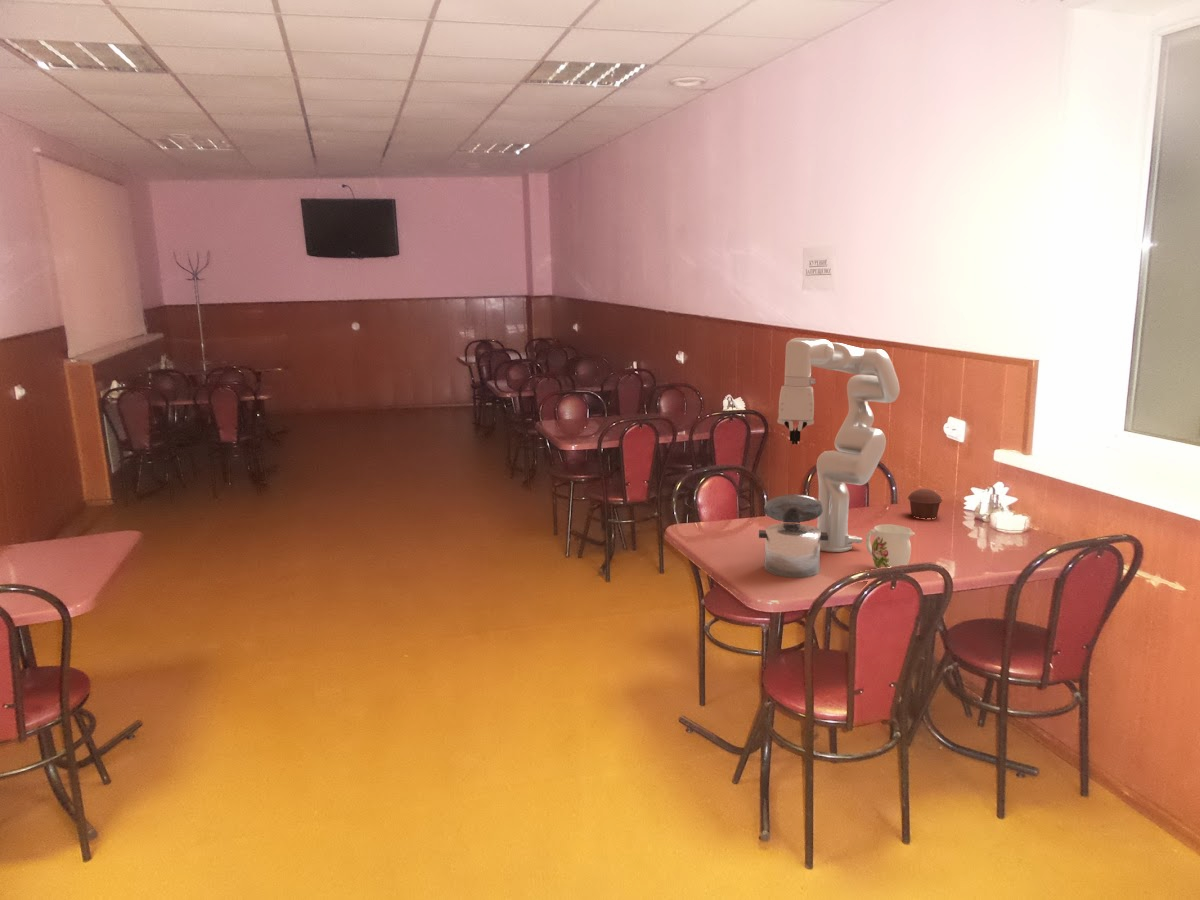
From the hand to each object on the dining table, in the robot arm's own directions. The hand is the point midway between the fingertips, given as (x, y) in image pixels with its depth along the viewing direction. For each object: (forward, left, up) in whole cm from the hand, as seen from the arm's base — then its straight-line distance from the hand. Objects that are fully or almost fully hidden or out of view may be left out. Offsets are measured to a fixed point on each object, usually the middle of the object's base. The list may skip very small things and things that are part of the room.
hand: (794, 443), depth 257 cm
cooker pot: (0, +5, -37) cm, 38 cm away
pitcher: (-28, +3, -38) cm, 47 cm away
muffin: (-51, -61, -38) cm, 88 cm away
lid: (0, +4, -20) cm, 20 cm away
